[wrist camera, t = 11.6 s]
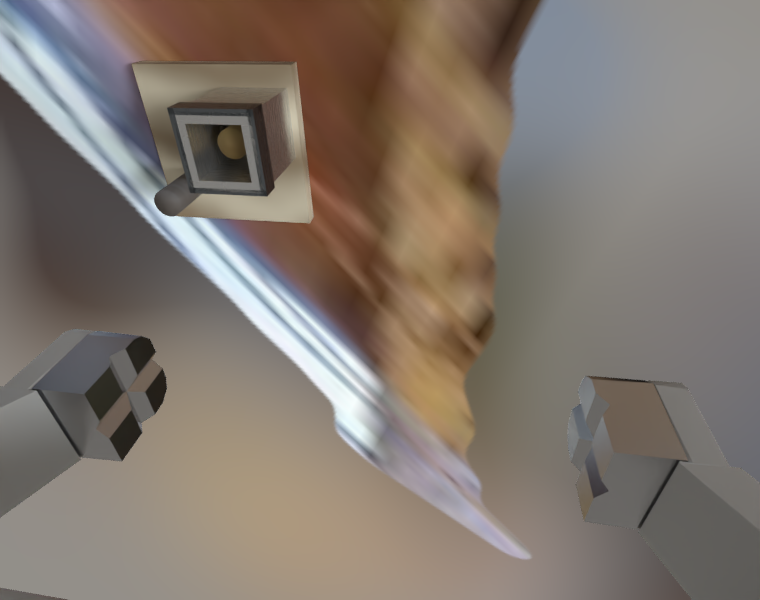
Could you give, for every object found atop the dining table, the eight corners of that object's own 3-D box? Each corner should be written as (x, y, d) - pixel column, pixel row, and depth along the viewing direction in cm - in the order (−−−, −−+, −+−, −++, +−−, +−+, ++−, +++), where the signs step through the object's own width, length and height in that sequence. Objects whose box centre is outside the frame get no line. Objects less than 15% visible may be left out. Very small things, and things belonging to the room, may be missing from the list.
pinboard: (140, 61, 34) (85, 77, 30) (296, 61, 33) (265, 78, 28) (183, 210, 41) (145, 243, 36) (313, 216, 40) (291, 252, 35)
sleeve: (217, 83, 33) (166, 107, 28) (289, 84, 33) (252, 109, 27) (232, 158, 37) (190, 193, 31) (298, 160, 36) (267, 196, 30)
